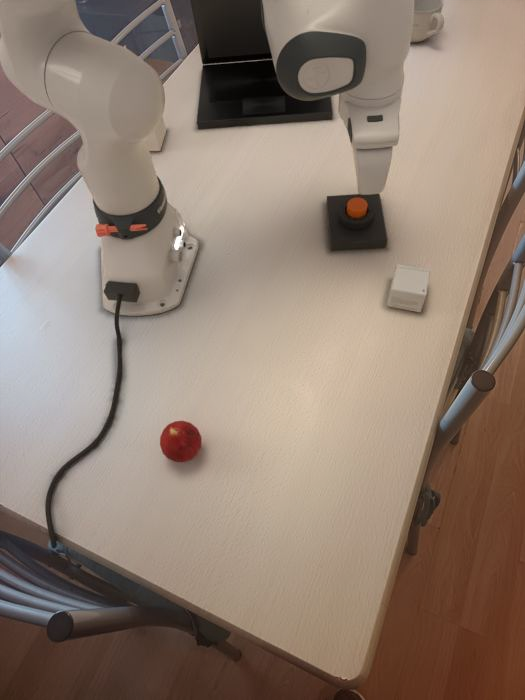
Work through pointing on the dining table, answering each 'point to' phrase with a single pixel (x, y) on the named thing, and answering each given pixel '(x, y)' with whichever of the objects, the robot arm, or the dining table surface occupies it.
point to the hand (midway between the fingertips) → (361, 176)
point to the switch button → (357, 208)
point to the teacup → (426, 19)
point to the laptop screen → (230, 31)
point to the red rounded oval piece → (180, 441)
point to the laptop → (251, 97)
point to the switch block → (355, 224)
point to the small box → (408, 288)
